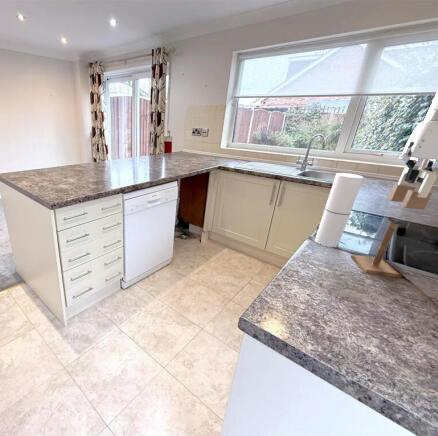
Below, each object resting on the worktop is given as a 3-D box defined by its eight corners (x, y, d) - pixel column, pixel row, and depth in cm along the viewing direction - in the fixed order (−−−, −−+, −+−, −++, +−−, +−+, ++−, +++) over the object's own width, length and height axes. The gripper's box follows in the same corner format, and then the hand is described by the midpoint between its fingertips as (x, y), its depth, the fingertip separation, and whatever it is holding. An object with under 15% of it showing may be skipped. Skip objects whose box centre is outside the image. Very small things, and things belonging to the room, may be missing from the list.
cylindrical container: (310, 240, 91) (331, 174, 82) (322, 236, 94) (343, 172, 85) (331, 249, 85) (356, 178, 76) (342, 244, 88) (368, 176, 79)
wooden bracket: (402, 200, 82) (418, 167, 77) (426, 210, 73) (444, 174, 68) (385, 198, 83) (400, 166, 78) (406, 208, 74) (424, 172, 70)
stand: (382, 261, 79) (403, 215, 72) (401, 278, 71) (427, 227, 64) (350, 257, 81) (368, 212, 74) (365, 273, 73) (387, 223, 66)
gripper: (469, 118, 69) (437, 181, 77) (401, 116, 73) (376, 177, 80) (496, 118, 63) (458, 188, 70) (420, 116, 66) (391, 183, 73)
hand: (415, 182), depth 75 cm, fingers closed on wooden bracket, 2 cm apart
